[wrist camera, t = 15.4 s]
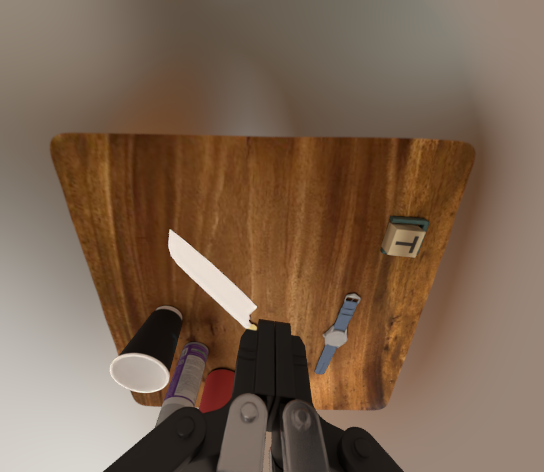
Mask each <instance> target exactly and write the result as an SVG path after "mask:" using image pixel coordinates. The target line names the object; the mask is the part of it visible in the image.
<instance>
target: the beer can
mask: <svg viewBox="0 0 544 472" xmlns="http://www.w3.org/2000/svg"><path fill="white" fill-rule="evenodd" d="M234 376H235V373H234V372H232V371H230V370H227V369H218V370H215V371H212V372H211V373H210V374H209V375H208V376H207V378H206V382H205V386H204V391H203V395H202V399H201V403H200V407H199V410H200V411H201V412H202V413H205V412H209V411H214V410H217V409H219V408H221V407H223V406H224V405H225V404H226V403H228V401H229V400H230V398H231V396H232V389H233V383H234Z"/></svg>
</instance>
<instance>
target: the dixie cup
mask: <svg viewBox="0 0 544 472" xmlns="http://www.w3.org/2000/svg"><path fill="white" fill-rule="evenodd" d="M181 327H182V314H181V313H180V311H179V310H177V309H176V308H174V307H171V306H161V307H159V308H157V309H156V310H155V311H154V312H153V313H152V314H151V315H150V316H149V317H148V319H147V320H146V321H145V323H144V324H143V325H142V327H141V328H140V329H139V330H138V332H137V333H136V334H135V336H134V337H133V338H132V340H131V341H130V342H129V343H128V345H127V346H126V347H125V349H124V350H123V351H122V353H121V354H120V355H119V356H118V357H117V358H115V359H114V360H113V361H112V363H111V365H110V374H111V376H112V377H113V379H114V380H115V381H116V382H117V383H118V384H119V385H121V386H122V387H124V388H127V389H129V390H131V391H135V392H141V393H151V392H156V391H159V390H161V389H163V388H164V387H165V386H166V385H167V384H168V382H169V378H170V375H169V372H170V368H171V364H172V361H173V357H174V353H175V349H176V346H177V342H178V338H179V334H180V331H181Z"/></svg>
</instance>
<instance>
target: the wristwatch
mask: <svg viewBox="0 0 544 472" xmlns="http://www.w3.org/2000/svg"><path fill="white" fill-rule="evenodd" d="M347 297H350V298H353V299H354V298H356V299H359V300H358V302H353V301H352V300H353V299H352V300H351V301H347V300H346V299H347ZM360 299H361V298H360V297H359V296H357V295H356V294H355V293H354V294H350V295H346V298H345V300H344V304H343V306H342V307H341V309H340V312H339V314H338V317H337V320H336V322H335V324H334V325H332V327H331V328H330V329H329V330H328V331H327V332H326V333H325V334H324V333H323V337H324V338H325V347H324V350H323V352H322V354H321V357H320V359H319V362H318V364H317V366H316V369H315V373H316V374H324V373H325V371H326V369H327V367H328V365H329V363H330V361H331V359H332V357H333V355H334V353H335V350H336V348H337V347H340V346H341V345H343V344H344V343H345V342H346V341H347V329H346V327H347V325H348V323H349V321H350V319H351V318H352V316H353V313H354V312H355V308H356V306H357V304H358V303H359V301H360Z"/></svg>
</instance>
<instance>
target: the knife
mask: <svg viewBox="0 0 544 472" xmlns="http://www.w3.org/2000/svg"><path fill="white" fill-rule="evenodd" d="M168 247H169V250H170V254H171V257H172V258H173V259H174V260H175V262H176V263H177V264H178V265H179V266H180V267H181V268H182V269H183V270H184V271H185V272H186V273H187V274H188V275H189V276H190V277H191V278H192V279H193V280H194V281H195V282H196V283H197V284H198V285H199V286H201V287H202V288H203V289H204V290H205V291H206V292H207V293H208V294H209V295H210V296H211V297H212V298H213V299H214V300H216V301H217V302H218V303H219V304H220V305H221V306H222V307H223V308H224V309H225V310H226V311H227V312H228V313H229V314H231V315H232V316H233V317H234V318H235V319H236V320H237V321H238V322H239V323H240V324H241V325H242V326H243V327H245V328H246V329H251V330H256V329H257V327H256V326H255V325H254V324H251V323H250V322H249V320H250V316H249V315H250V314H251V313H252V312H253V311H254V310H255V309H256V308H257V306H256V305H255V304H254V303H253V302H252V301H251V300H250V299H249V298H248V297H247V296H246V295H245V294H244V293H243V292H242V291H241V290H240V289H239V288H238V287H237V286H236V285H234V284H233V283H232V282H231V281H230V280H229V279H228V278H227V277H226V276H225V275H224V274H223V273H222V272H221V271H219V270H218V269H217V268H216V267H215V266H214V265H213V264H212V263H211V262H210V261H208V260H207V259H206V258H205V257H203V256H202V255H201V254H200V253H199V252H197V251H196V250H195V249H194V248H193V247H192V246H191V245H190V244H188V243H187V242H186V241H185V240H184V239H182V238H181V237H180V236H178V235H177V234H176V233H175V232H173V231H172V230H171V229H170V233H169V242H168Z"/></svg>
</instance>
